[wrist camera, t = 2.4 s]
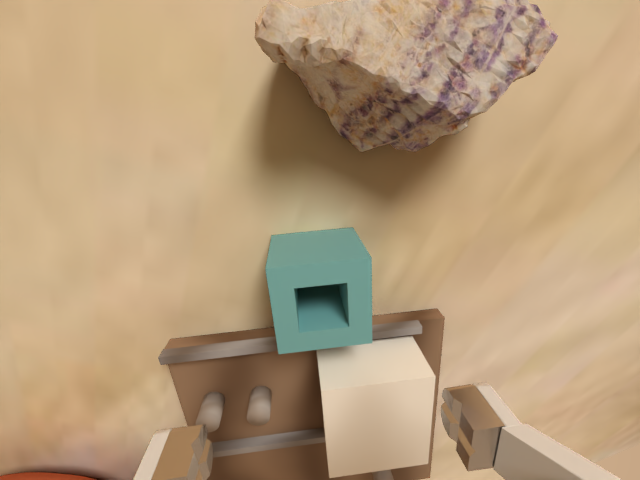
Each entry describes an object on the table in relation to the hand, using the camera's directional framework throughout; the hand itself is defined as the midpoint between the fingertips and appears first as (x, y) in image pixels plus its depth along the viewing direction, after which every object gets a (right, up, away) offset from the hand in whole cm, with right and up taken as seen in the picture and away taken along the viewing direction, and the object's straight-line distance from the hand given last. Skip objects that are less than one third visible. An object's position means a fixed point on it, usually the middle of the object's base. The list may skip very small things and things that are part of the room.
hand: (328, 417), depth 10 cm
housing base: (-1, -9, +15) cm, 18 cm away
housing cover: (+3, -5, +13) cm, 14 cm away
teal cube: (-1, +4, +11) cm, 11 cm away
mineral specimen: (+3, +16, +7) cm, 17 cm away
